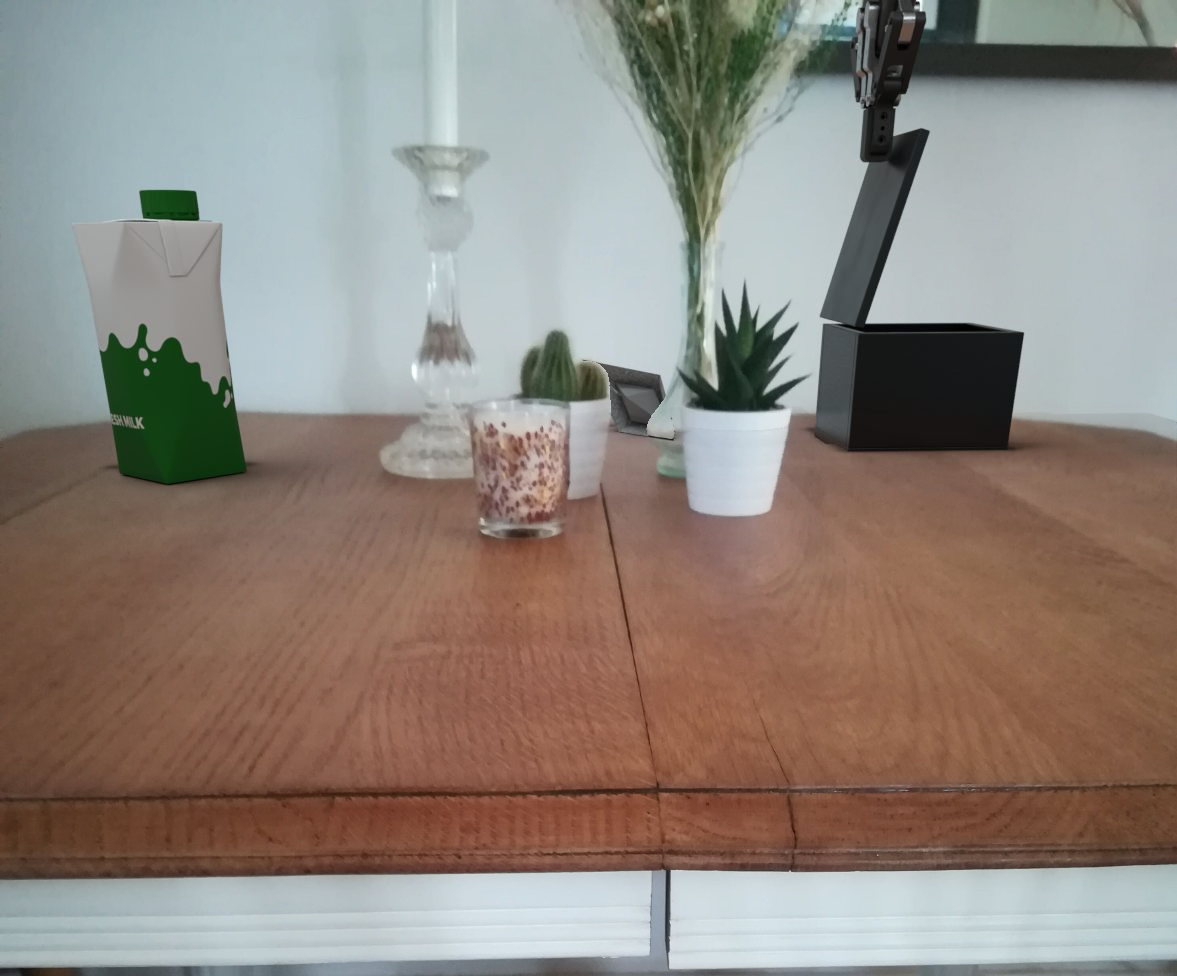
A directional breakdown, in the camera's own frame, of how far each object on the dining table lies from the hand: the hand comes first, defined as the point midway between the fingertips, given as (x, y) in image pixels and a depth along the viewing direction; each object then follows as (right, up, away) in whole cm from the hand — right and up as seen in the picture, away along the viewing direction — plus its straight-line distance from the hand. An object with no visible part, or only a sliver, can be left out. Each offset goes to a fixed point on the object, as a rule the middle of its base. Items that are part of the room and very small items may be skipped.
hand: (875, 161), depth 94 cm
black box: (+5, -20, +10) cm, 23 cm away
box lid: (+1, -5, +2) cm, 5 cm away
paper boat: (-19, -17, +17) cm, 31 cm away
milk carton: (-55, -26, -2) cm, 61 cm away
